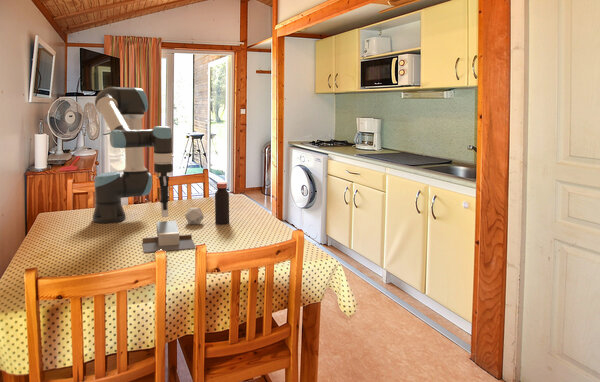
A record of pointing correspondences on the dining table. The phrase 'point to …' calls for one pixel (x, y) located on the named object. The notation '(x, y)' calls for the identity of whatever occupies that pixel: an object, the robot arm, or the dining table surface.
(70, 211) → the dining table surface
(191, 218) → the grey faceted rock
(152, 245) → the mat
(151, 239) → the rail
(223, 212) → the bottle
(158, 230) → the tall block
